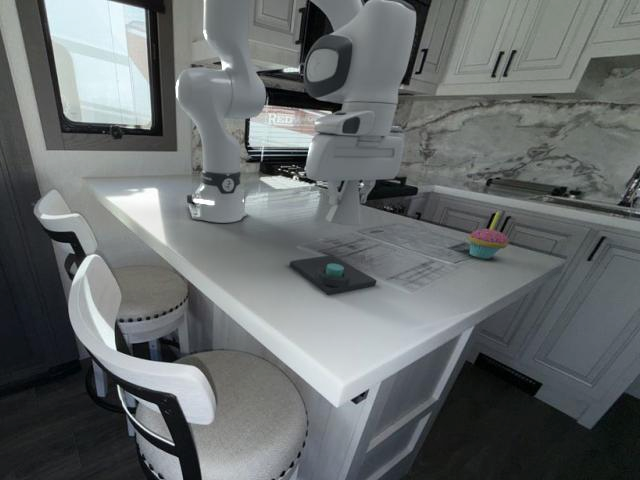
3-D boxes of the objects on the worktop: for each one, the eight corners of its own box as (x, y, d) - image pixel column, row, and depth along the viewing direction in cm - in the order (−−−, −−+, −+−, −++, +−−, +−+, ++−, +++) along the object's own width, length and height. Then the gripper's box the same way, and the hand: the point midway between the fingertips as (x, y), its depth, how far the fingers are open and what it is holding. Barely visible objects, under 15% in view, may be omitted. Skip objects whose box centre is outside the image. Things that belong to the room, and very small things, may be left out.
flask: (363, 228, 59) (378, 173, 54) (325, 224, 60) (336, 170, 55) (359, 218, 65) (371, 168, 60) (324, 215, 66) (334, 165, 61)
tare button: (322, 272, 61) (323, 264, 60) (334, 270, 62) (336, 262, 61) (332, 279, 59) (334, 271, 58) (345, 277, 60) (347, 269, 59)
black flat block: (289, 266, 69) (291, 254, 68) (331, 260, 74) (334, 248, 72) (328, 296, 58) (331, 282, 57) (375, 286, 63) (379, 273, 61)
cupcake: (458, 247, 86) (477, 204, 80) (493, 253, 84) (515, 209, 78) (466, 258, 79) (488, 212, 73) (504, 264, 77) (530, 217, 71)
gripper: (393, 125, 60) (373, 197, 67) (307, 120, 52) (295, 202, 59) (421, 127, 55) (397, 204, 62) (330, 121, 48) (315, 210, 55)
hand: (346, 203), depth 61 cm, fingers closed on flask, 5 cm apart
